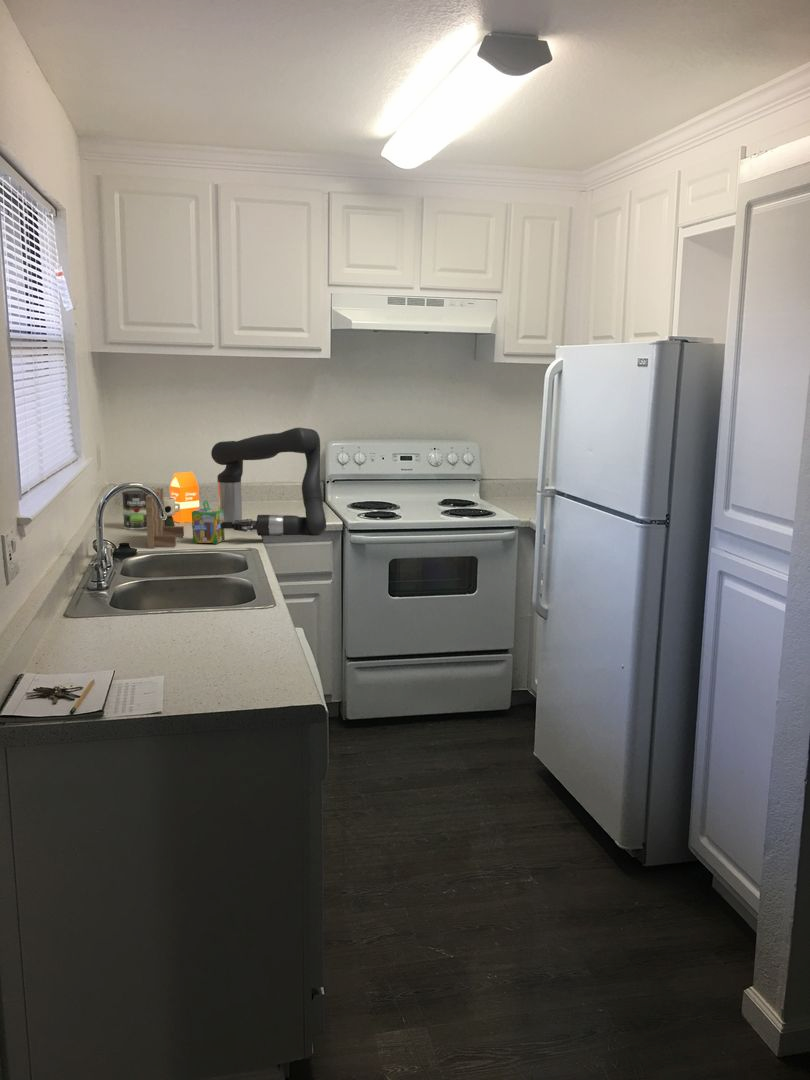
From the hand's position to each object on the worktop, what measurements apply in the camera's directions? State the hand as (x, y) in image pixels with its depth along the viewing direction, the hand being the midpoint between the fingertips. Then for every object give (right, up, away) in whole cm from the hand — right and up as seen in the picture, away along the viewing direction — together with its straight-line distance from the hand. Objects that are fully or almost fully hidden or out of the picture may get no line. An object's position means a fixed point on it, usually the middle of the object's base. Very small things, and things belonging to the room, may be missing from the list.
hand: (221, 525), depth 310 cm
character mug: (-25, -3, +18) cm, 31 cm away
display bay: (-20, -6, -1) cm, 20 cm away
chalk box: (-5, -6, +1) cm, 8 cm away
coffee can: (-39, -1, +28) cm, 48 cm away
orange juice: (-24, +2, +44) cm, 50 cm away
